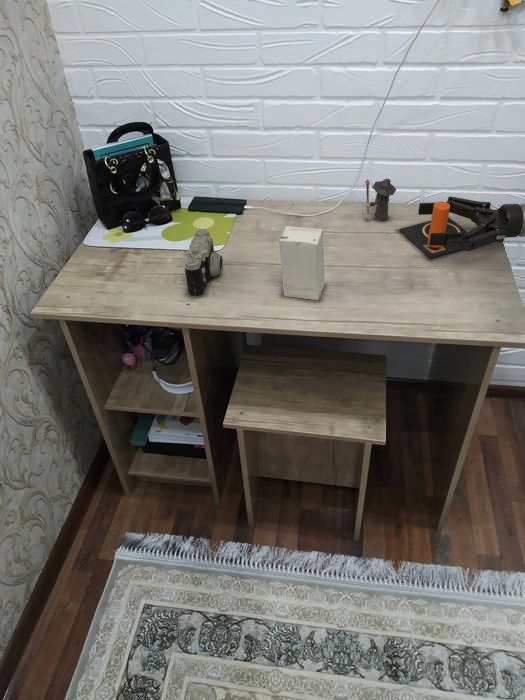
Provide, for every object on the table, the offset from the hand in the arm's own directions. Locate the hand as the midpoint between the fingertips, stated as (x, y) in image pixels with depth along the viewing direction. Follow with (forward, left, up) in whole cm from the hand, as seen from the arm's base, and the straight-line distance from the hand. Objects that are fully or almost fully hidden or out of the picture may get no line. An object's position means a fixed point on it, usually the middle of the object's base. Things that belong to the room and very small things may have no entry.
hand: (424, 223), depth 131 cm
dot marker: (-1, -3, -7) cm, 7 cm away
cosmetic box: (-3, +32, -7) cm, 33 cm away
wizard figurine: (+17, +2, -7) cm, 19 cm away
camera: (+11, +50, -7) cm, 52 cm away
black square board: (+3, -7, -7) cm, 10 cm away
